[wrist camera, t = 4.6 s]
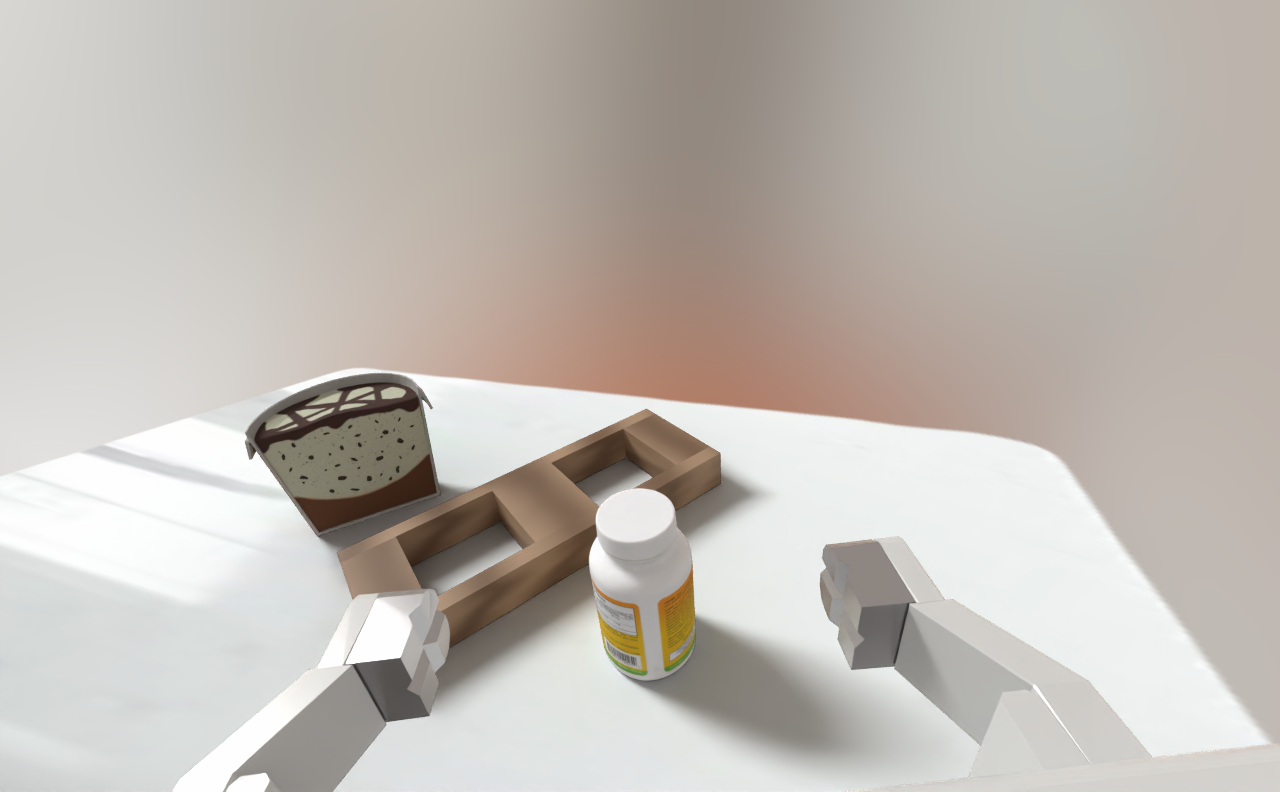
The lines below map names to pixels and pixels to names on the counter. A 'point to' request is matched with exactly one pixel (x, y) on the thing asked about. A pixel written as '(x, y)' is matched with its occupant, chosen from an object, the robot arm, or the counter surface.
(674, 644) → the supplement bottle
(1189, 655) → the counter surface
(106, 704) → the counter surface
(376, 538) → the socket rail
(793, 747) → the counter surface
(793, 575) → the counter surface
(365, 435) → the food container
